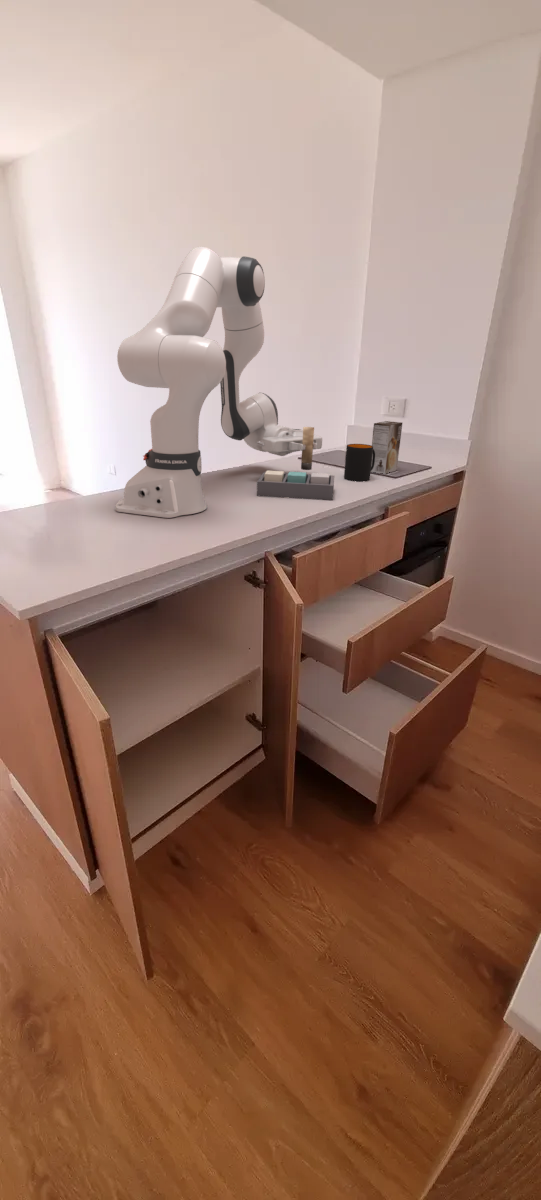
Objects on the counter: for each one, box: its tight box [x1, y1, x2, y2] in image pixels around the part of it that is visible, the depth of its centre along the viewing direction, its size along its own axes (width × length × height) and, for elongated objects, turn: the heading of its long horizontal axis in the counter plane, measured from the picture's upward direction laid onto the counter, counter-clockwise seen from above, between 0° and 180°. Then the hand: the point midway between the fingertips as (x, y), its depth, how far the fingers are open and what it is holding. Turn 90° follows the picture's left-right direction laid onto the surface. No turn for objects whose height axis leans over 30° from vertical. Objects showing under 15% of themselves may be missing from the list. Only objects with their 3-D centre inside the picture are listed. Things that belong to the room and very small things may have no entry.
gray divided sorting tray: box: [256, 471, 335, 501], centre depth 148 cm, size 21×13×4 cm, turn 83°
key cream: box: [264, 470, 285, 482], centre depth 148 cm, size 5×5×3 cm
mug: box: [343, 443, 375, 483], centre depth 166 cm, size 8×12×10 cm
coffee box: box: [371, 420, 403, 475], centre depth 176 cm, size 9×6×16 cm
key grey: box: [310, 472, 330, 485], centre depth 147 cm, size 5×5×3 cm
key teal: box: [287, 471, 307, 483], centre depth 147 cm, size 5×5×3 cm
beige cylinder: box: [300, 426, 315, 471], centre depth 155 cm, size 3×3×12 cm
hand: (309, 447), depth 154 cm, fingers closed on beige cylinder, 3 cm apart
